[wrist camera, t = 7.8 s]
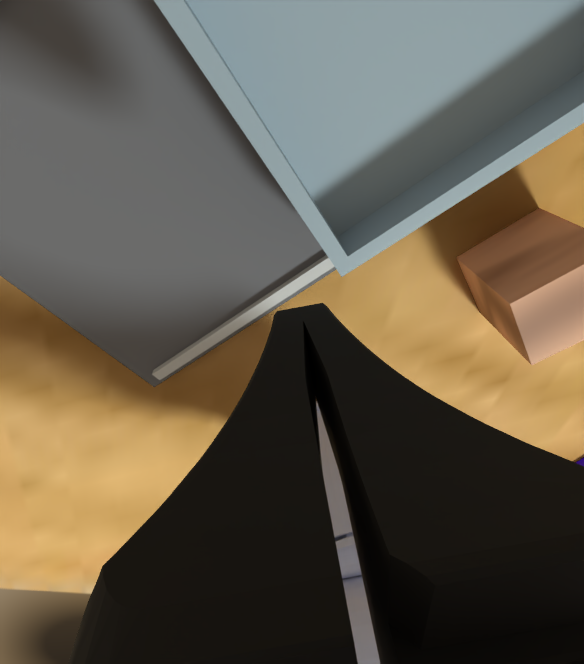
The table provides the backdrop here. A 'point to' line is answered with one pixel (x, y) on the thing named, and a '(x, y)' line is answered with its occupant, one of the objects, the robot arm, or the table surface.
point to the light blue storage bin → (388, 100)
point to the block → (531, 283)
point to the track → (135, 188)
